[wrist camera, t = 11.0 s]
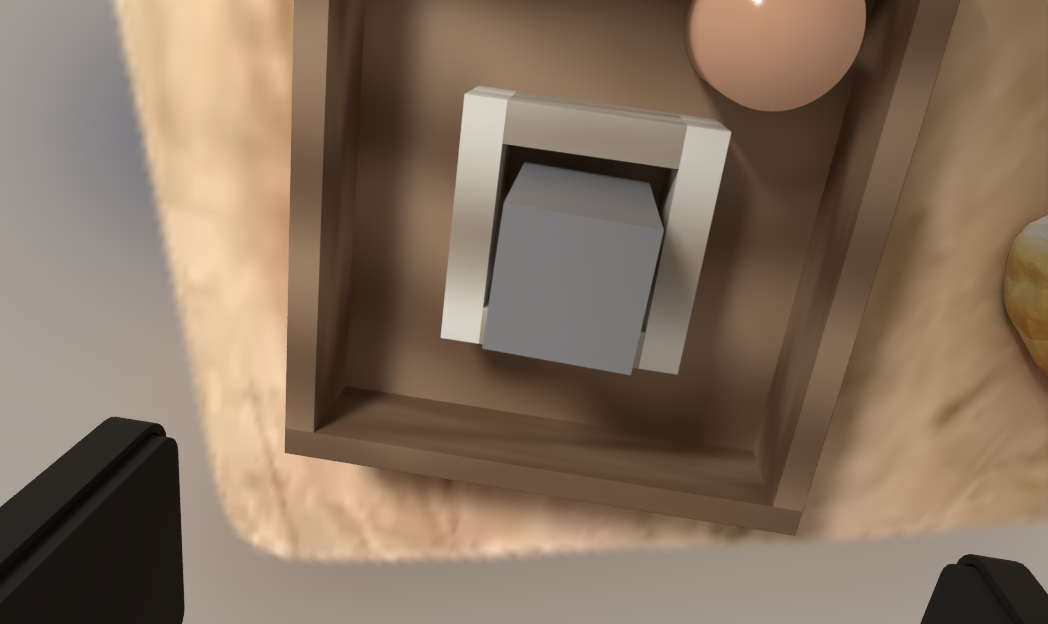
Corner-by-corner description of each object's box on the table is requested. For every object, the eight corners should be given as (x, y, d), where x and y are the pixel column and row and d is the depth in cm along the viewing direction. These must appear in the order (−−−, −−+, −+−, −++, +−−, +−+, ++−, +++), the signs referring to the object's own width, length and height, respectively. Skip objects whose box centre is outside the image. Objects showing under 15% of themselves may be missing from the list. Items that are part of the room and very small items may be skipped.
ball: (698, -60, 24) (716, -73, 20) (841, -40, 24) (886, -51, 20) (670, 87, 26) (682, 99, 22) (805, 106, 26) (840, 122, 22)
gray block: (530, 150, 27) (504, 202, 19) (645, 171, 27) (663, 230, 19) (513, 261, 28) (481, 348, 21) (622, 280, 28) (630, 375, 21)
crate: (349, -168, 25) (298, -206, 20) (926, -92, 24) (995, -115, 20) (326, 395, 32) (284, 452, 28) (768, 466, 31) (795, 535, 27)
